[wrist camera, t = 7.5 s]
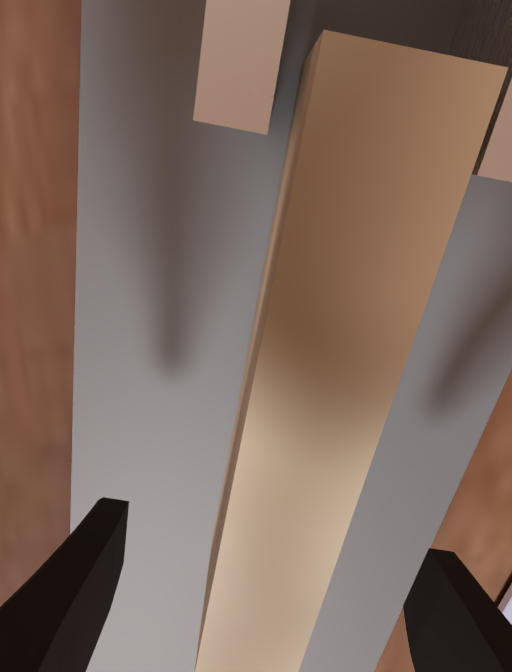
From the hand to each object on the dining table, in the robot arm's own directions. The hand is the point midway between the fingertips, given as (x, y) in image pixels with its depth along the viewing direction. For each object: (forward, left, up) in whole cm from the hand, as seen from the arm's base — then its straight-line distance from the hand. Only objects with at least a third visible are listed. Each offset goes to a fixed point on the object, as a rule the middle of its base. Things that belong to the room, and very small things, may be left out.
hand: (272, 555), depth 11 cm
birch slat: (0, -3, -4) cm, 5 cm away
